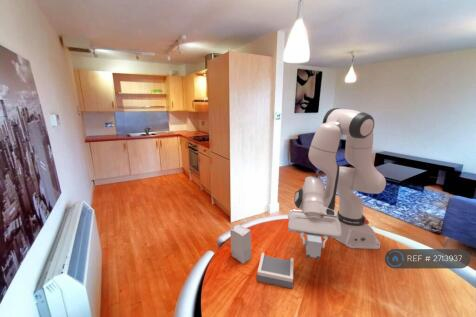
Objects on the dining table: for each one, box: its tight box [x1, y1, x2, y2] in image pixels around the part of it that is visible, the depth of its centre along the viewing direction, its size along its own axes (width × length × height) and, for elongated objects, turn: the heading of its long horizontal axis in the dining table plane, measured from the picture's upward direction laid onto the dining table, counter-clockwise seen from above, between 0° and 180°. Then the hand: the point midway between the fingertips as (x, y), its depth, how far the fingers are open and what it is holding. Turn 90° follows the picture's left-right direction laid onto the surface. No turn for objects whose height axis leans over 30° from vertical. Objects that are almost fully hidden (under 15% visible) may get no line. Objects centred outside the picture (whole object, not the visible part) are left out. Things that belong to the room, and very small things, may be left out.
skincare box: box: [229, 224, 252, 265], centre depth 99 cm, size 8×6×15 cm
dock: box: [256, 252, 294, 289], centre depth 90 cm, size 14×12×4 cm
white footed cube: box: [305, 233, 323, 261], centre depth 83 cm, size 5×6×8 cm
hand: (313, 246), depth 82 cm, fingers closed on white footed cube, 5 cm apart
